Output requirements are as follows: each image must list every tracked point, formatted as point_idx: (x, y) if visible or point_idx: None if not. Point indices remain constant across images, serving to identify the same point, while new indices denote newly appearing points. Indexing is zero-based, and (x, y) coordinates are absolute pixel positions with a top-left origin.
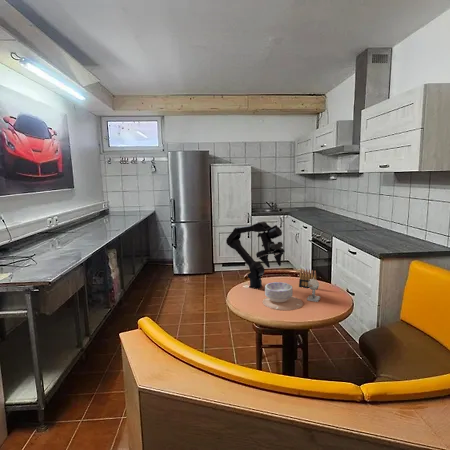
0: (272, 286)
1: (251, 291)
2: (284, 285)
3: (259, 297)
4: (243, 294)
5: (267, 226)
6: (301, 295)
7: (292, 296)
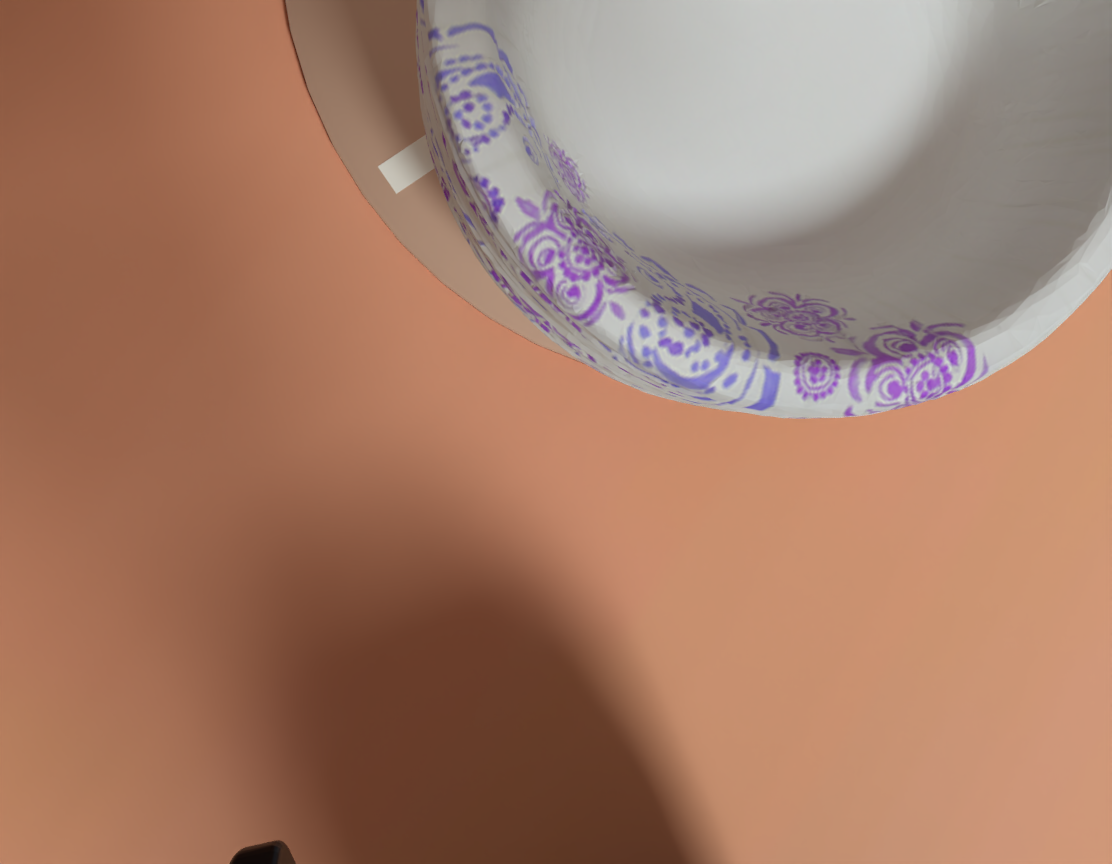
0: (808, 322)
1: (890, 828)
2: (530, 123)
3: (942, 448)
4: (1106, 741)
5: None
6: (65, 76)
7: (320, 113)
